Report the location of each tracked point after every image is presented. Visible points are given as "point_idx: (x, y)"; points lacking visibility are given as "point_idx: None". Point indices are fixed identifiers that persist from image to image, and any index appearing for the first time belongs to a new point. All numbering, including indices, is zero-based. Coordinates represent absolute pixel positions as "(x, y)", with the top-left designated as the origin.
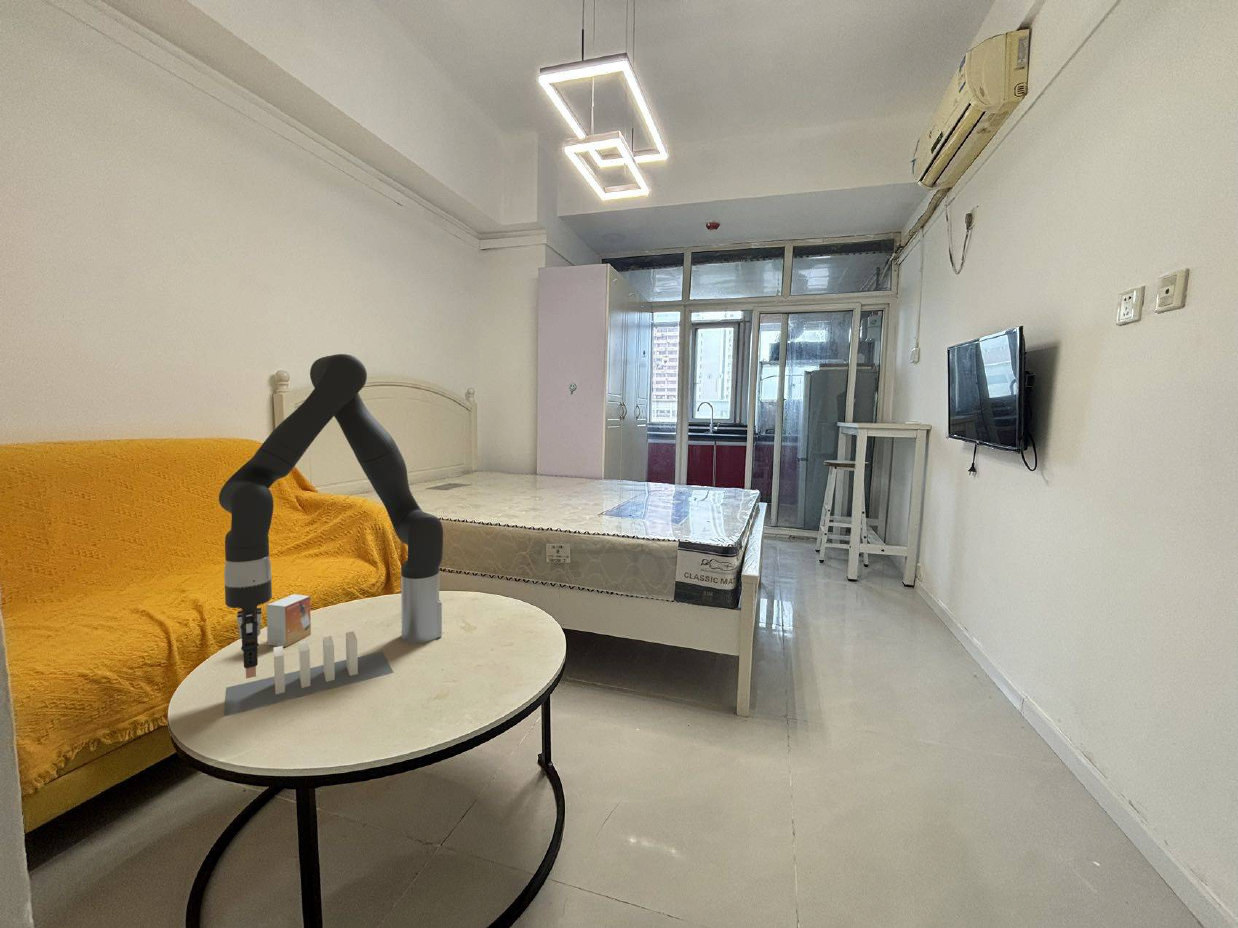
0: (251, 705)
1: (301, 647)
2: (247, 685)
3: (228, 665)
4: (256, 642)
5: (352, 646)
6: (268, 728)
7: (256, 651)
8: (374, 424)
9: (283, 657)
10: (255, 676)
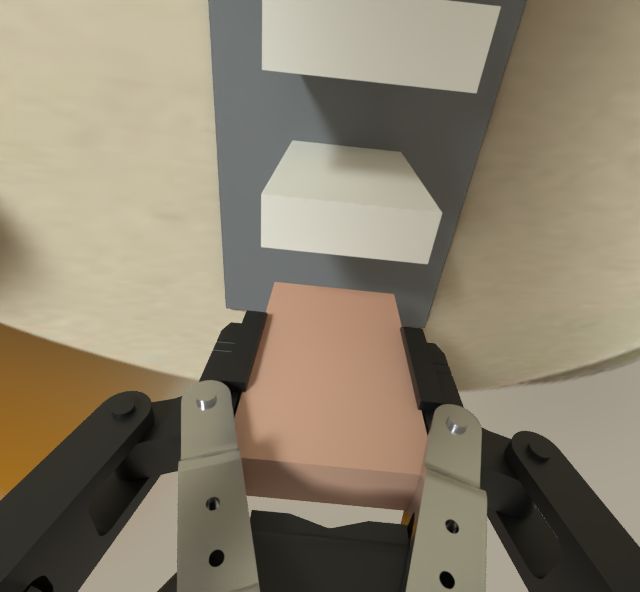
0: (415, 263)
1: (395, 68)
2: (247, 258)
3: (29, 285)
4: (591, 496)
5: None
6: (610, 234)
7: (439, 388)
8: None
9: (439, 209)
10: (393, 295)
